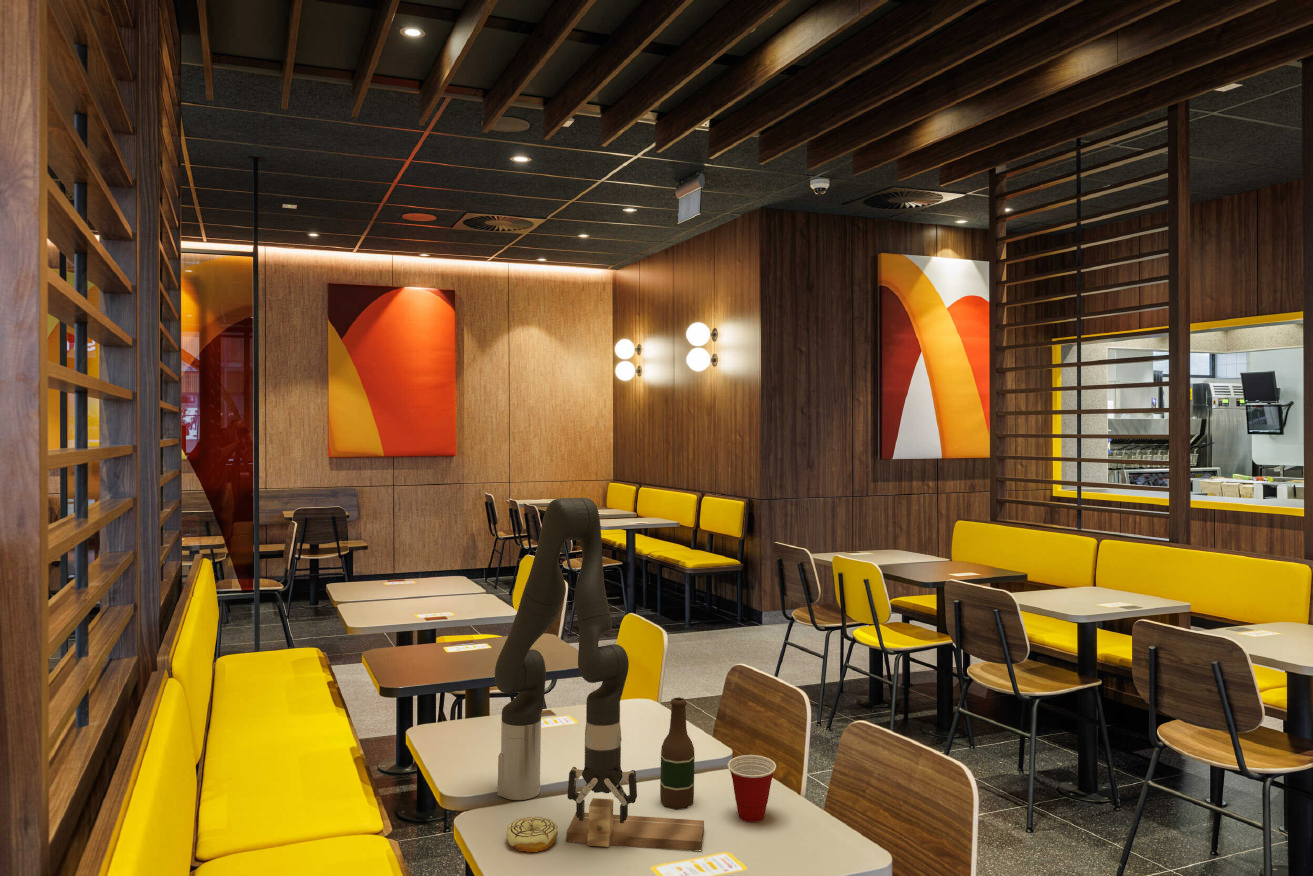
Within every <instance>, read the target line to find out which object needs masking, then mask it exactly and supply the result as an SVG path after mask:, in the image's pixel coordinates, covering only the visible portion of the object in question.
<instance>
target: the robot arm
mask: <svg viewBox="0 0 1313 876" xmlns="http://www.w3.org/2000/svg"><path fill="white" fill-rule="evenodd" d="M601 527H602V525H601V517H600V513H599V509H598V506H597V505H596V503H595V502H594V501H593V500H592V499H591V498H588V497H566V498H565V497H562V498H561V497H560V498H559V497H558V498H556V499H553V500H551V501H550V502H549V503H548V505H547V507H546V509H545V512H544V515H543V518H542V522H541V526H540V533H539V536H538V541H537V546H536V547H537V548H536V551H535V554H534V557H533V558H534V559H533V562H532V565H531V567H530V568H531V569H530V571H529V574H528V577H527V579H526V580H527V581H526V582H525V585H524V588H523V591H522V594H521V598H520V602H519V604H518V608H517V611H516V614H515V617H514V619H513V623H512V625H511V628H510V630H509V634H508V635H507V637H506V640H505V642H504V644H503V646H502V649H501V651H500V653H499V655H498V658H497V660H496V664H495V667H494V683H495V686H496V688H497V689H498V691H499V692H501V693H503V694H506V695H507V694H517V695H516V696H515V698H513V699H512V700H511V701H510V702H508V703H507V704H506V705H504V706H503V707H502V709H501V722H500V723H501V731H500V732H501V735H500V739H501V740H500V753H498V757H497V758H498V759H497V797H502V798H504V799H506V800H513V801H524V800H529V799H533V798H535V797H537V796H538V795H539V794H540V793H541V753H542V752H541V751H542V750H541V744H542V743H541V742H542V735H541V734H542V712H543V711H544V706H545V695H546V693H545V692H546V680H547V677H546V676H547V669H546V662H545V660H544V659H545V658H544V656H543V655H542V653H541V652H540V651H539V650H536V649H533V648H532V646H533V645H534V644H535V643H536V642H537V640H538V639H540V637H542V636H543V635H544V633H545V632H546V631H548V630H549V628H550V627H551V626H552V625H553V623H554V622H555V621H556V620H557V618H558V616H559V613H560V612H561V608H562V606H563V603H564V601H565V596H566V593H567V592H566V591H567V588H566V581H565V578H564V575H563V573H562V569H561V566H560V562H559V561H560V556H561V551H562V548H563V546H564V544H565V543H566V541H579V543H580V549H581V552H582V553H581V555H582V560H581V565H580V570H579V573H578V576H577V581H576V584H575V586H574V587H575V588H574V592H573V594H574V595H573V603H574V604H573V605H574V608H575V609H574V610H575V614H576V619H577V624H578V628H579V629H578V632H579V634H578V653H577V668H578V672H579V674H580V676H581V677H582V679H583V680H584V681H585V682H587V683H591V684H596V683H600V682H601V685H600V686H599V687H598V688H597V689H594V691H591V692H590V693H589V694H587V698H586V701H585V702H586V703H585V704H586V707H585V708H586V710H585V712H586V713H585V714H586V716H585V719H586V720H585V721H586V722H585V727H584V728H585V729H584V767H583V768H584V769H577V767H575V766H573V767H572V768H571V769H570V770H569V773H568V785H567V799H568V800H570V801H571V800H572V801H574V802H575V803H576V811H575V813H576V816H577V818H579V821H583V819H584V813H585V808H586V807H585V806H586V805H585V798H586V797H587V796H588V795H589V793H590V792H591V791H592V792H593V793H595V794H598V793H603V794H610V793H612V794H613V796H614V797H615V798H616V799H617V800H618V801H619V803H620V806H619V815H620V823H624V821H626V819H627V816H629V804H635V803H636V800H637V797H638V789H637V788H638V787H637V773H636V770H634V769H632V770H630V771H623V770H622V768H621V767H622V766H621V765H622V764H621V763H622V762H621V761H622V759H621V758H622V729H621V699H622V696H623V692H624V689H625V684H626V681H627V677H628V672H629V665H630V661H629V657H628V653H627V651H626V650H625V648H624V647H623V646H621V645H620V644H614V643H613V644H606V645H602V646H600V645H599V641H600V637H601V636H603V635H606V634H607V633H609V632H610V631H611V630H612V628H613V621H612V616H611V612H610V606H609V602H608V598H607V591H606V587H605V578H604V560H603V543H602V530H601ZM531 648H532V649H531ZM581 777H582V779H583V780H584V782H585V785H584V787H582V789H581V790H580V792H578V791H576V789H577V781H579V779H580V778H581ZM622 779H624V780H625V783H626V784H628V792H629V794H627V793H626V792H625V790H624V788H623V786H622V785H621V783H620V782H621V781H622Z"/></svg>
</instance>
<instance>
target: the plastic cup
mask: <svg viewBox="0 0 1313 876" xmlns="http://www.w3.org/2000/svg"><path fill="white" fill-rule="evenodd" d="M727 768H728V770H729V772H730V775H731V779H732V785H733V791H734V792H733V793H734V798H735V802H736V803H735V804H736V809H737V814H738V818H739V819H740V820H742V821H744V822H749V823H757V822H761V821H763V820H764V819H765V816H766V811H767V806H768V802H769V796H770V791H771V785H772V780H773V778H774V777H773V776H774V773H775V771H776V769H777V764H776V763H775V761H774V760H772V759H771V758H769V757H766V756H762V755H756V754H743V755H739V756H736V757H733V758H731V759H730V760H729V761H728V763H727Z"/></svg>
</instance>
